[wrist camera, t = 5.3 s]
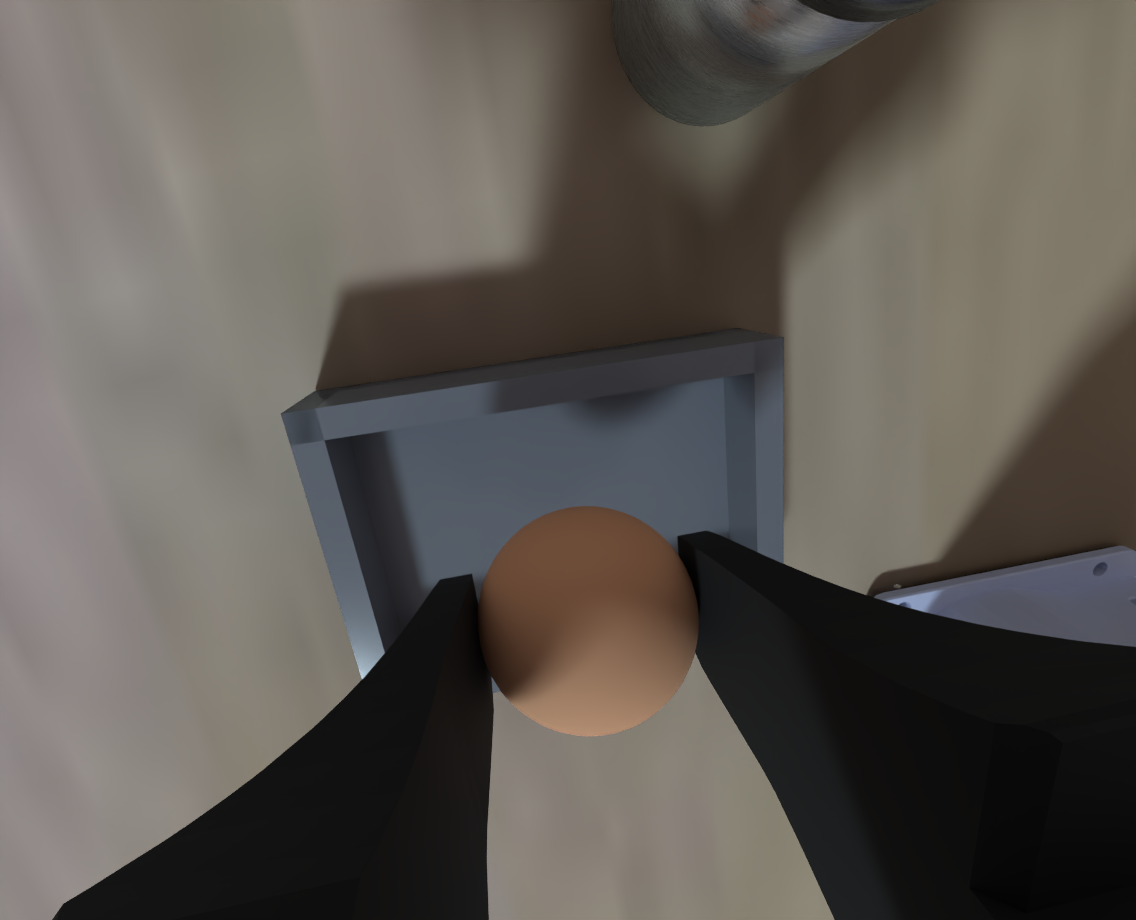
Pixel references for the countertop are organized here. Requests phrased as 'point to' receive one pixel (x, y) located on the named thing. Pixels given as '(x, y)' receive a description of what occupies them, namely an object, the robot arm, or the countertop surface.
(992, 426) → the countertop surface
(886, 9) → the shaker
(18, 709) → the countertop surface
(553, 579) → the ball
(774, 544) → the dish
